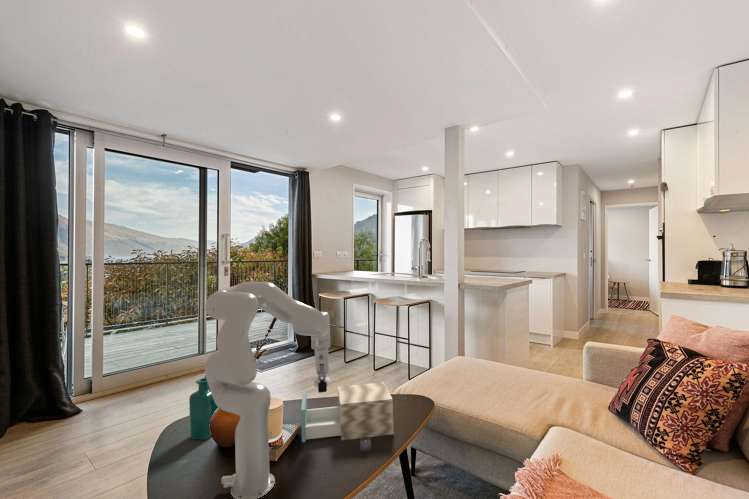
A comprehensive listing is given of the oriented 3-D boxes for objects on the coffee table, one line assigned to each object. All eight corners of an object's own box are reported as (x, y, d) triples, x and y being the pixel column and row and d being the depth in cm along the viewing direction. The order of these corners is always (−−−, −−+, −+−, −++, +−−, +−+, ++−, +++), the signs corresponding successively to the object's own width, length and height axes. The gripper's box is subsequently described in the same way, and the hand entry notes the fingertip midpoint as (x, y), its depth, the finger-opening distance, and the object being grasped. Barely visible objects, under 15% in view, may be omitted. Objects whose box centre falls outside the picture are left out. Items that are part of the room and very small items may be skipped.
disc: (330, 386, 136) (330, 382, 136) (314, 388, 135) (313, 384, 135) (330, 380, 142) (330, 376, 142) (314, 381, 141) (314, 377, 141)
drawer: (301, 442, 128) (300, 410, 128) (303, 419, 145) (303, 391, 146) (355, 436, 131) (354, 404, 131) (351, 414, 149) (350, 386, 149)
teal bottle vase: (207, 441, 133) (205, 383, 133) (187, 439, 134) (186, 382, 135) (223, 428, 142) (221, 374, 143) (204, 426, 144) (203, 373, 144)
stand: (360, 453, 121) (360, 443, 121) (359, 447, 125) (359, 437, 125) (371, 452, 122) (371, 442, 122) (370, 446, 126) (370, 436, 126)
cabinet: (341, 440, 130) (340, 404, 130) (338, 418, 148) (337, 386, 148) (393, 434, 133) (392, 399, 133) (384, 413, 151) (383, 382, 151)
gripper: (331, 348, 130) (332, 396, 130) (329, 337, 147) (331, 379, 147) (310, 350, 129) (312, 398, 129) (311, 338, 146) (313, 381, 146)
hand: (322, 388), depth 138 cm, fingers closed on disc, 6 cm apart
